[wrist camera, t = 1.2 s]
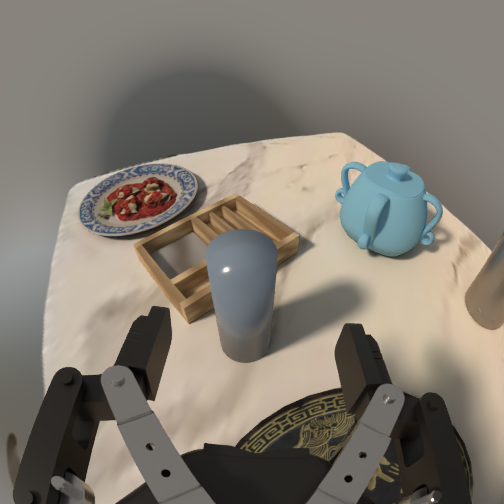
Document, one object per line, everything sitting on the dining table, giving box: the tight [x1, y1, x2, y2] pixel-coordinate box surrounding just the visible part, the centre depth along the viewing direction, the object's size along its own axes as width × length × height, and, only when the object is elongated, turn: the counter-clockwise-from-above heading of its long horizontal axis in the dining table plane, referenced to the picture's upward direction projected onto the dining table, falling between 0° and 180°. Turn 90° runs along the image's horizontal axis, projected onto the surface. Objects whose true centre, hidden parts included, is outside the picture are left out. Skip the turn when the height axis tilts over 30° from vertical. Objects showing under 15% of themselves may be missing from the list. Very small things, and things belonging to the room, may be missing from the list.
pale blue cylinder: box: [205, 229, 278, 363], centre depth 30 cm, size 6×6×15 cm
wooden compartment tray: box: [133, 194, 299, 324], centre depth 44 cm, size 20×15×4 cm
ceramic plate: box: [78, 164, 198, 236], centre depth 56 cm, size 26×26×3 cm
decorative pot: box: [335, 161, 443, 256], centre depth 45 cm, size 16×16×14 cm
